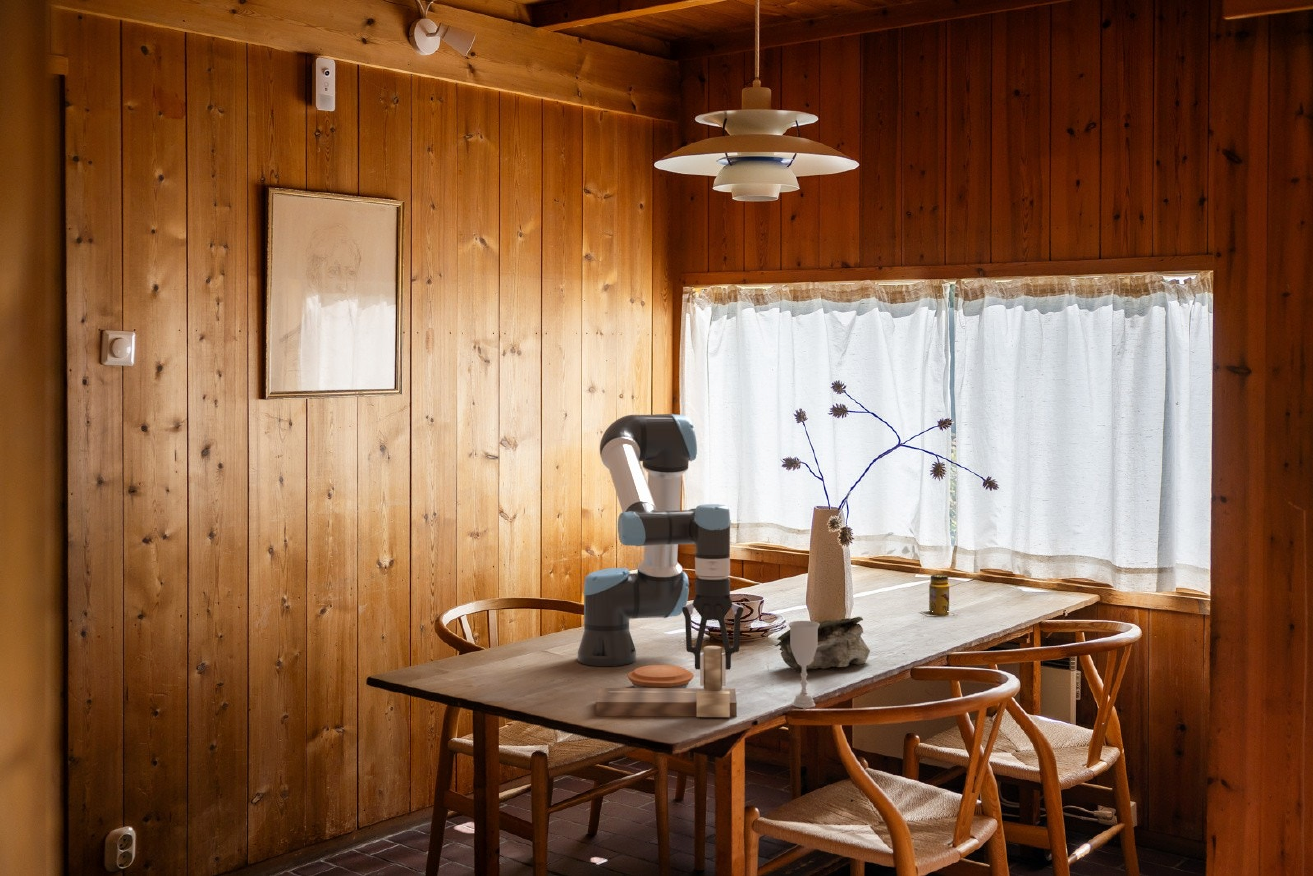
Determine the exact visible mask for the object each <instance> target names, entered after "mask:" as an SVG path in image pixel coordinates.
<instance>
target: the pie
mask: <svg viewBox="0 0 1313 876" xmlns="http://www.w3.org/2000/svg"><path fill="white" fill-rule="evenodd" d="M694 675H695V674H694V673H693V672H692V671H690V670H688V669H687V668H685V667H682V666H678V665H671V664H650V665H649V664H648V665H644V666H640V667H637V668H635V669H634V670H632V671H630V672H628V673H627V678H628V680H629V681H630V682H631V683H632V686H633V688H688V685H689V683H690V682H691V681H692V679H693V678H694Z"/></svg>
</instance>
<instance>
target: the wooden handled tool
mask: <svg viewBox="0 0 1313 876" xmlns="http://www.w3.org/2000/svg"><path fill="white" fill-rule="evenodd" d="M702 649H703V652H702V653H704V686H703V689H704V690H705V691H697V716H696V717H697V718H700V717H701V718H731V717H730V692H729V691H721V690H722V689H723V686H722V653H723V647H722V646H718V645H707V646H704V647H703V648H702Z"/></svg>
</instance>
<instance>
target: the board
mask: <svg viewBox="0 0 1313 876" xmlns="http://www.w3.org/2000/svg"><path fill="white" fill-rule="evenodd" d="M697 691H705V690H704V687H703V688H697V687H696V688H689V687H686V688H635V687H611V688H610V687H601V688H600V690H599V693H598V696H597V699H596V704H595V705H596V706H595V708H596V709H595V710H596V712H595V713H596V715H595V716H597V717H599V716H600V717H602V716H604V717H606V716H607V717H697ZM721 691H729V692H730V717H729V718H731V717H733V718H735V717H738V716H737V713H738V712H737V711H738V710H737V706H738V702H737V694H736V688H722V690H721Z"/></svg>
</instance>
